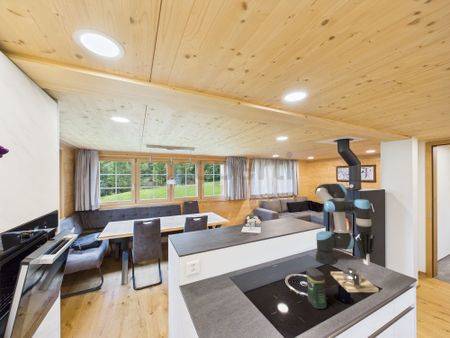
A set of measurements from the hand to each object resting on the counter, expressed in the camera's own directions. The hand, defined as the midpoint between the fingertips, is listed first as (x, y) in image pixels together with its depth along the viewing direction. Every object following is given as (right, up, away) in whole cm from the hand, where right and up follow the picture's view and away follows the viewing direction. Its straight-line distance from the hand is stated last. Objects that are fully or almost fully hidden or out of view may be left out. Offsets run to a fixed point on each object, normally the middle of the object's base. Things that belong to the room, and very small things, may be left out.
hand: (366, 264), depth 109 cm
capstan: (-3, -15, +7) cm, 17 cm away
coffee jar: (-34, -18, -8) cm, 40 cm away
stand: (-1, -18, +10) cm, 20 cm away
